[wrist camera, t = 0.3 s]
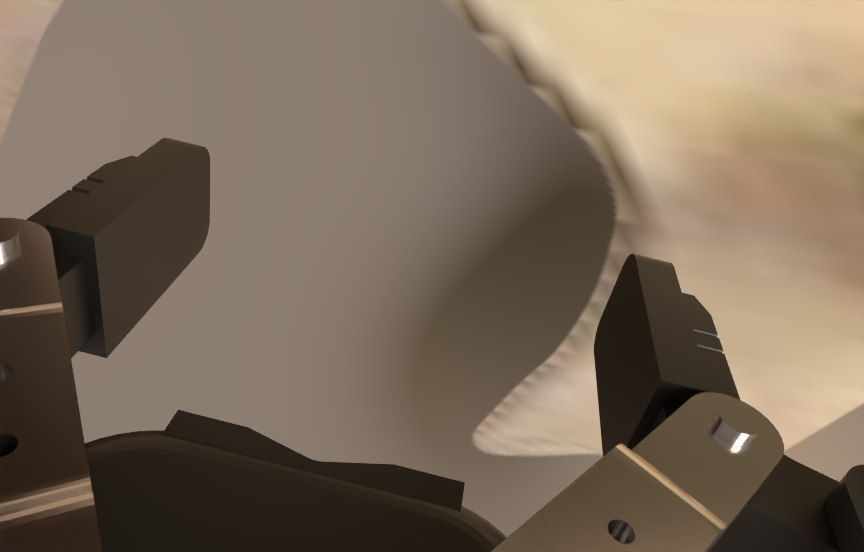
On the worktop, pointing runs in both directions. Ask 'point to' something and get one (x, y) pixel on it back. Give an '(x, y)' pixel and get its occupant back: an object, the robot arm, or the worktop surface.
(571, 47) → the worktop surface
